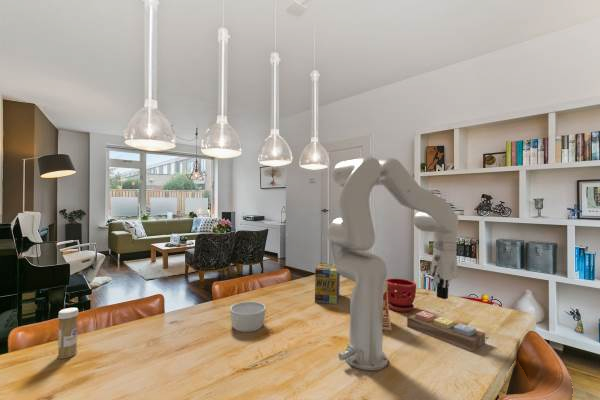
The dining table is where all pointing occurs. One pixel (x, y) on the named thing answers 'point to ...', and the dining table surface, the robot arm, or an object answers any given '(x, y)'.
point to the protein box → (327, 283)
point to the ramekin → (247, 316)
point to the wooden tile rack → (447, 334)
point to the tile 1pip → (464, 330)
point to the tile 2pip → (443, 323)
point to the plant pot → (401, 294)
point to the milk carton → (386, 309)
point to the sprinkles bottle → (67, 332)
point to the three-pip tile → (425, 316)
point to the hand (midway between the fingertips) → (442, 297)
